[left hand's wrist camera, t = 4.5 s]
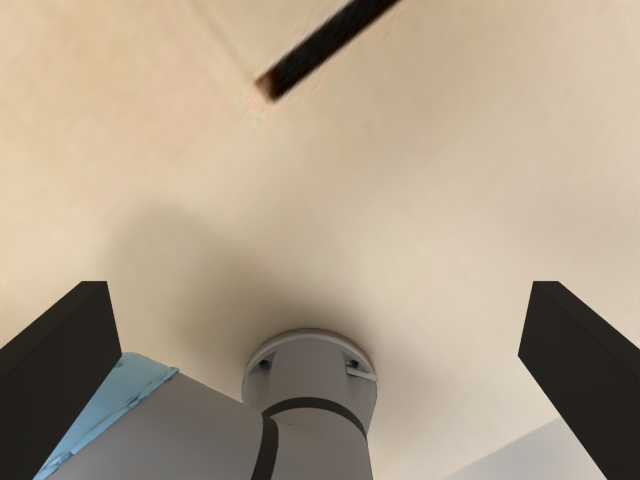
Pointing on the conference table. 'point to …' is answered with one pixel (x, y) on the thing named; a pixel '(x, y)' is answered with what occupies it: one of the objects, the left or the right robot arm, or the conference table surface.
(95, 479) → the left robot arm
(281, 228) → the conference table surface
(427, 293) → the conference table surface
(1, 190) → the conference table surface
